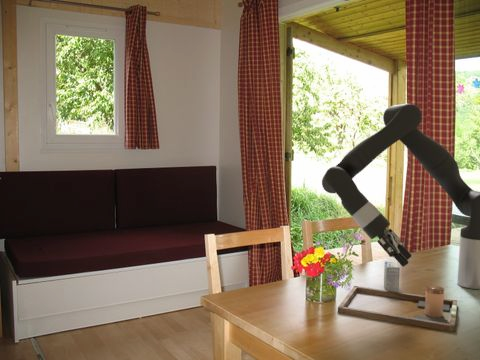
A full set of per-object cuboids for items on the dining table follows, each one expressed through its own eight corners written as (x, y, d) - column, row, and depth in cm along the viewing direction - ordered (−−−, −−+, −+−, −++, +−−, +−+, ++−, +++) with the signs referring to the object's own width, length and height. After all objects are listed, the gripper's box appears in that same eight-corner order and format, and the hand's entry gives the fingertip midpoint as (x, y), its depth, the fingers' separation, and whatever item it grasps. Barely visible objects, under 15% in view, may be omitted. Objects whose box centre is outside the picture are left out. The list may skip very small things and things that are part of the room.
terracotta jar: (425, 310, 155) (426, 284, 154) (442, 313, 153) (444, 287, 152) (423, 315, 150) (425, 289, 150) (442, 318, 148) (443, 291, 147)
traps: (419, 301, 163) (419, 299, 163) (449, 305, 159) (449, 304, 159) (412, 323, 145) (412, 321, 145) (446, 328, 141) (446, 326, 141)
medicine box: (399, 293, 171) (400, 267, 170) (385, 292, 172) (386, 266, 171) (396, 286, 178) (397, 261, 177) (383, 285, 179) (384, 260, 178)
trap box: (354, 290, 173) (354, 283, 172) (456, 305, 159) (457, 298, 159) (337, 312, 152) (338, 304, 152) (454, 331, 139) (454, 323, 139)
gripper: (375, 215, 149) (415, 259, 145) (383, 208, 162) (420, 248, 158) (356, 232, 152) (395, 274, 148) (365, 223, 164) (401, 263, 161)
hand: (407, 261), depth 153 cm, fingers open, 8 cm apart
